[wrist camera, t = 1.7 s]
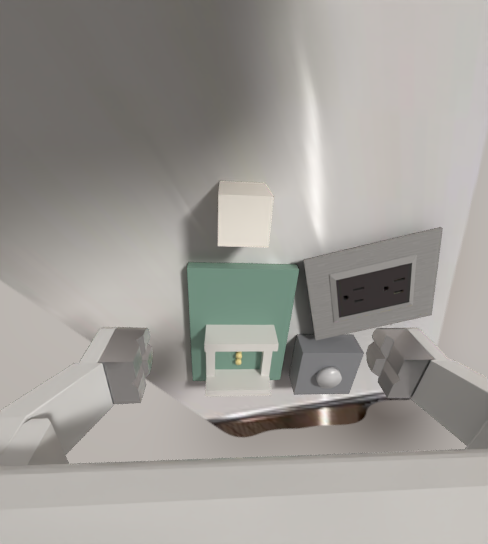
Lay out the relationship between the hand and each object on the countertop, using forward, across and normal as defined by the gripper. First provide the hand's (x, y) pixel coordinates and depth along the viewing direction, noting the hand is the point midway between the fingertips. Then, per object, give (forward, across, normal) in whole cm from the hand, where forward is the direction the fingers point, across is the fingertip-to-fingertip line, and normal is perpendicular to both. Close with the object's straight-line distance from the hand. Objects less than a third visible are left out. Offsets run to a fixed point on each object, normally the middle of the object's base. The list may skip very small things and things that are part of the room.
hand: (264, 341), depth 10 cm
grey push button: (+18, -11, +19) cm, 28 cm away
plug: (+17, 0, 0) cm, 17 cm away
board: (+18, -1, +14) cm, 22 cm away
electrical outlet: (+18, -14, +8) cm, 24 cm away
